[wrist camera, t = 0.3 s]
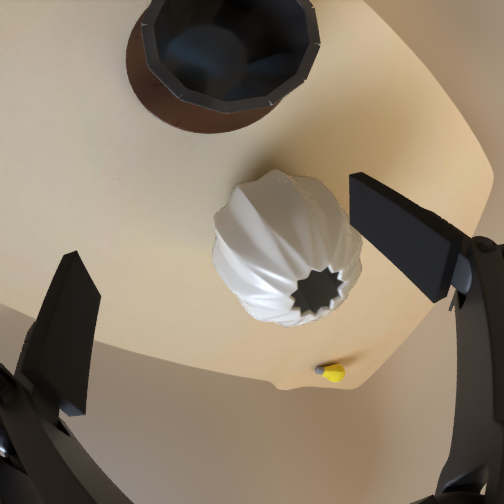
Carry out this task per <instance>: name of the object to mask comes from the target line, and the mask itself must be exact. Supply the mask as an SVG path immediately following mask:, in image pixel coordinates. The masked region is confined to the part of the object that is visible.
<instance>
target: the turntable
mask: <svg viewBox="0 0 504 504" xmlns="http://www.w3.org/2000/svg"><path fill="white" fill-rule="evenodd" d="M147 9H148V8H147ZM147 9H146V10H145V11H144V12H143V14H142V15H141V17H140V18H139V19H138V21H137V22H136V24H135V26H134V28H133V30H132V32H131V35H130V38H129V40H128V45H127V50H126V68H127V74H128V78H129V82H130V84H131V86H132V89H133V91H134V93H135V94H136V96H137V98H138V99H139V101H140V102H141V103H142V104H143V105H144V107H145V108H146V109H147V110H148V111H150V112H151V113H152V114H153V115H154V116H156V117H157V118H159V119H160V120H162V121H163V122H165V123H167V124H169V125H171V126H173V127H176V128H179V129H182V130H185V131H189V132H194V133H204V134H214V133H224V132H230V131H234V130H237V129H241V128H243V127H246V126H248V125H250V124H252V123H254V122H256V121H258V120H260V119H261V118H262V117H264V116H265V115H267V114H268V113H269V112H270V111H271V110H273V109H274V108H275V107H276V106H277V105H278V103H279V102H280V101H281V100H282V99H283V98H282V99H281V100H279V101H278V102H277V103H276V104H274V105H270V107H266V108H259V109H252V110H246V111H240V112H234V113H229V114H227V113H219V112H215V111H211V110H208V109H204V108H201V107H198V106H194V105H191V104H187V103H184V102H180V101H179V99H178V100H176V99H175V98H174V97H173V95H172V94H171V93H170V92H169V91H168V90H167V89H166V88H165V87H164V86H163V85H162V84H161V83H160V82H159V81H158V80H157V79H156V77H155V76H154V75H153V74H152V72H151V71H150V70H149V67H148V66H147V63H146V58H145V52H144V46H143V40H142V34H141V26H142V25H141V22H142V20H143V18H144V16H145V14H146V12H147Z"/></svg>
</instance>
